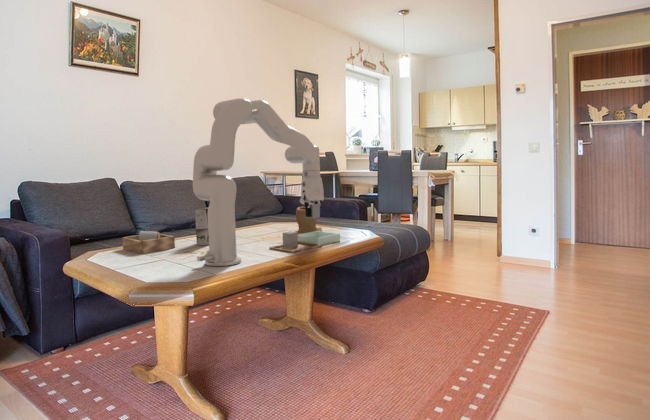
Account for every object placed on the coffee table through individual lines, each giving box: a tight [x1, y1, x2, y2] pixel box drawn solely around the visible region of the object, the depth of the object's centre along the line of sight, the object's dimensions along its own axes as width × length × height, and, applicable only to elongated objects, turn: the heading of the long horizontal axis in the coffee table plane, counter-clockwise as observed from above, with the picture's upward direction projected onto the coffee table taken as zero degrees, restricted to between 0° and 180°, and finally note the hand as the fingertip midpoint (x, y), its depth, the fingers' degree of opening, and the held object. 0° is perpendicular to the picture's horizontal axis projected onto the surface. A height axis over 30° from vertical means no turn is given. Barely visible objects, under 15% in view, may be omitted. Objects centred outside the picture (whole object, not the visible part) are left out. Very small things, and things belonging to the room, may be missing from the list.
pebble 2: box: [306, 202, 321, 219], centre depth 193 cm, size 4×4×6 cm
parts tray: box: [268, 242, 323, 254], centre depth 179 cm, size 16×14×2 cm
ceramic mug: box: [138, 230, 161, 241], centre depth 191 cm, size 11×8×8 cm
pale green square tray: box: [298, 231, 341, 246], centre depth 192 cm, size 14×14×4 cm
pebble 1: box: [282, 231, 298, 248], centre depth 181 cm, size 4×4×6 cm
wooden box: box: [121, 233, 176, 255], centre depth 189 cm, size 15×17×5 cm
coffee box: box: [194, 206, 209, 246], centre depth 197 cm, size 9×6×16 cm
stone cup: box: [294, 205, 324, 234], centre depth 212 cm, size 15×12×15 cm
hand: (312, 215), depth 193 cm, fingers closed on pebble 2, 4 cm apart
